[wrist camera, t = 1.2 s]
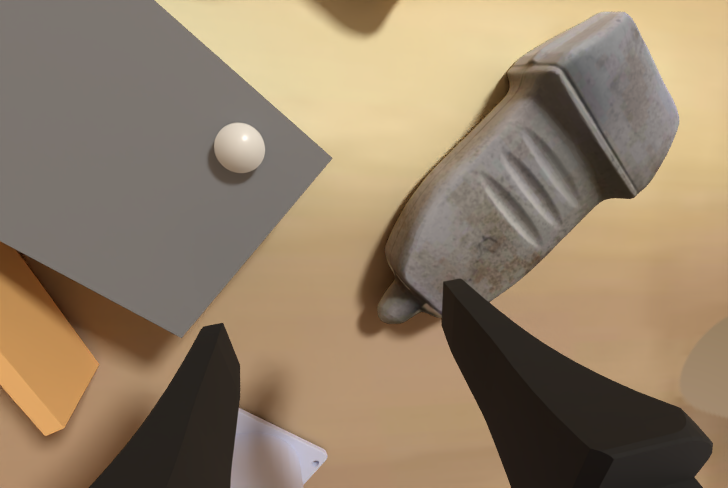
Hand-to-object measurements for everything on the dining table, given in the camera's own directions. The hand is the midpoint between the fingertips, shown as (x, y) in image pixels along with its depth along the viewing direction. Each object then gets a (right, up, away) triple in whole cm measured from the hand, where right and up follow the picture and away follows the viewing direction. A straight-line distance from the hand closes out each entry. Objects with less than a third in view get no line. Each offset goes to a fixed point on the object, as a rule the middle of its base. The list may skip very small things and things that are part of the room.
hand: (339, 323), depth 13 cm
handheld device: (+8, +6, +12) cm, 16 cm away
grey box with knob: (-9, +7, +6) cm, 13 cm away
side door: (-16, +1, +6) cm, 17 cm away
